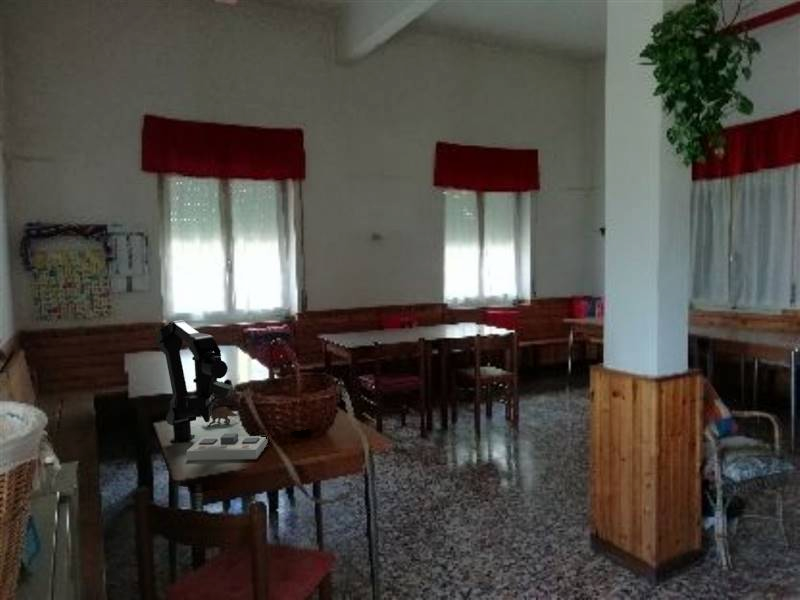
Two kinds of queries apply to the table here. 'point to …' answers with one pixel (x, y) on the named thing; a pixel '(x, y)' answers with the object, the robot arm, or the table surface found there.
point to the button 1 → (208, 441)
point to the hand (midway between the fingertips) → (207, 422)
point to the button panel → (226, 449)
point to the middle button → (229, 438)
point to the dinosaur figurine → (221, 414)
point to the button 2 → (250, 440)
